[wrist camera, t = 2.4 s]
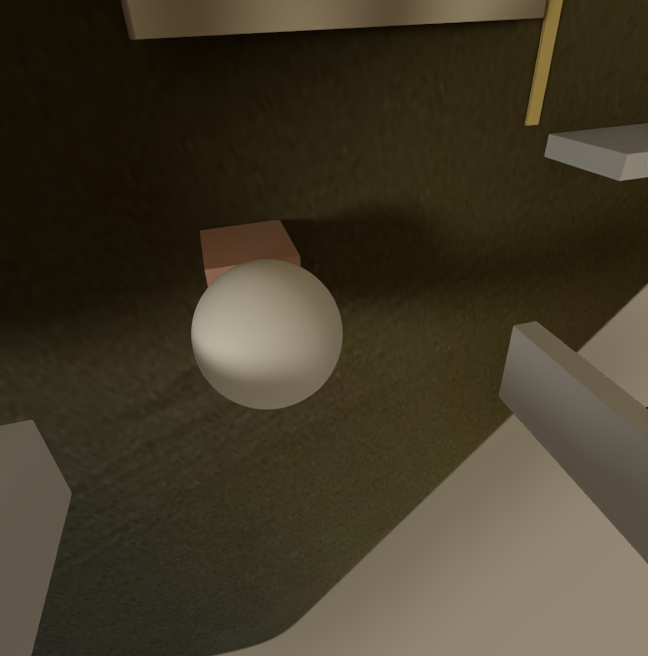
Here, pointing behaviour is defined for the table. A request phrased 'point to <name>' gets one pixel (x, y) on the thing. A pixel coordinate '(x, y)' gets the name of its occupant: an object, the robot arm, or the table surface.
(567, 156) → the fence
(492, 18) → the ramp
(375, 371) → the table surface
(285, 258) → the salmon pink box
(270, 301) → the ball
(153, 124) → the table surface
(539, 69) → the line
